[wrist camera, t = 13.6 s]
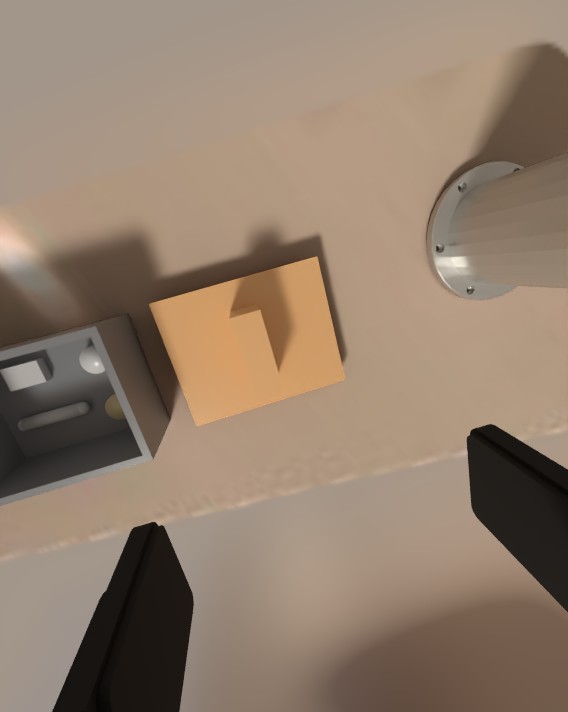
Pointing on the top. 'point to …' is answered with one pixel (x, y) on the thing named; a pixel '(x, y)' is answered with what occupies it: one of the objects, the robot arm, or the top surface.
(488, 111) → the top surface
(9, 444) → the tub
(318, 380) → the lid
